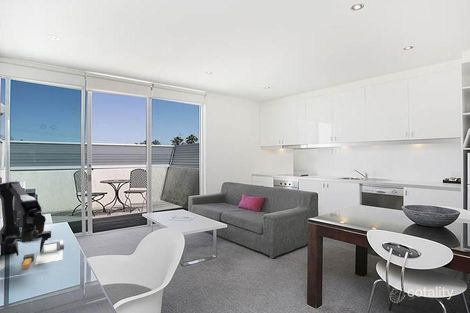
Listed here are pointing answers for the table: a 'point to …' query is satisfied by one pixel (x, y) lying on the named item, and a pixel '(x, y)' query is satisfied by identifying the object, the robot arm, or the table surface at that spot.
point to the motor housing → (59, 246)
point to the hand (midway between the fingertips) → (29, 253)
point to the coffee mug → (40, 229)
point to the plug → (27, 261)
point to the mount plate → (50, 254)
